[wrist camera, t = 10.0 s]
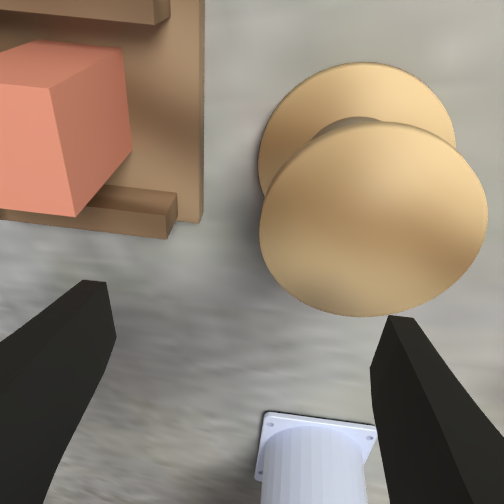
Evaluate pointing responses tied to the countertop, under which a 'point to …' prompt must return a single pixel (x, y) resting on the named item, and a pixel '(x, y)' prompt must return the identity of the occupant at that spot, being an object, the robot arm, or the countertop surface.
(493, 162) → the countertop surface
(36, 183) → the pink rectangular block
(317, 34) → the countertop surface
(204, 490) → the countertop surface
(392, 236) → the bobbin
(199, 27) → the notch board
